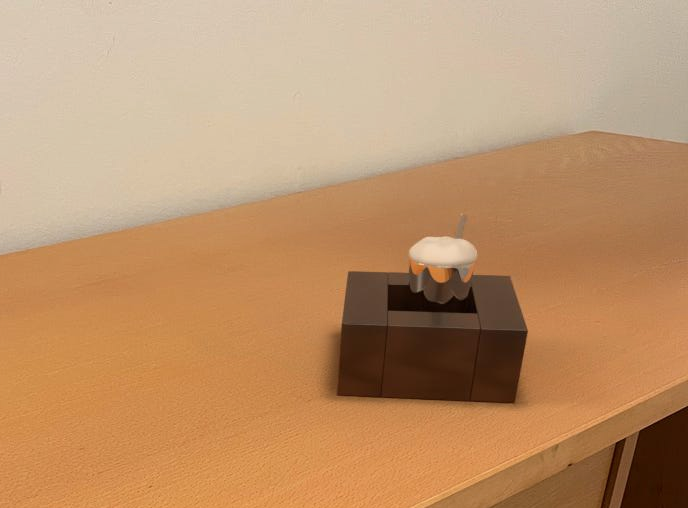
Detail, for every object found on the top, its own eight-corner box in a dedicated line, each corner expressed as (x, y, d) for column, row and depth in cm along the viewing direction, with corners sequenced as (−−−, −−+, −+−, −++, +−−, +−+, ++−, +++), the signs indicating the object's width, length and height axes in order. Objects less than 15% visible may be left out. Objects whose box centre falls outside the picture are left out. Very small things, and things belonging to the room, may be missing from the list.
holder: (499, 341, 75) (510, 275, 72) (515, 403, 66) (528, 329, 63) (343, 335, 77) (348, 270, 74) (336, 395, 67) (341, 323, 64)
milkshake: (475, 361, 72) (496, 218, 66) (445, 385, 68) (465, 235, 62) (418, 350, 74) (434, 210, 68) (386, 372, 71) (400, 226, 65)
